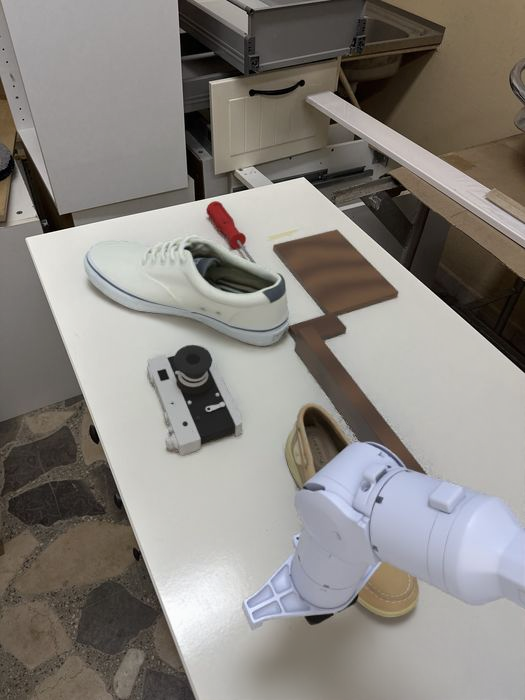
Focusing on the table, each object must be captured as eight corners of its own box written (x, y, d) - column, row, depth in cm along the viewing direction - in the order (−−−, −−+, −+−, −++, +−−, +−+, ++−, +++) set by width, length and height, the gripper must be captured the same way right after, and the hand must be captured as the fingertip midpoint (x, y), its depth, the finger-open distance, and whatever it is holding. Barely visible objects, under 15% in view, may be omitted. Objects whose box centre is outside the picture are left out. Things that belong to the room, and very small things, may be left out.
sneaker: (113, 251, 94) (102, 188, 85) (301, 306, 87) (311, 243, 78) (71, 294, 85) (54, 229, 76) (276, 358, 79) (284, 295, 70)
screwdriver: (259, 295, 89) (260, 278, 86) (205, 217, 103) (204, 201, 101) (277, 290, 90) (279, 274, 87) (221, 213, 105) (221, 198, 102)
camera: (246, 402, 64) (166, 427, 61) (243, 435, 69) (170, 459, 66) (204, 321, 73) (133, 338, 70) (205, 354, 78) (139, 372, 75)
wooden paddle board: (583, 488, 67) (602, 470, 64) (447, 564, 59) (461, 548, 56) (336, 234, 102) (339, 214, 99) (230, 260, 95) (230, 240, 91)
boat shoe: (364, 639, 53) (382, 614, 48) (261, 447, 68) (266, 410, 62) (432, 602, 56) (458, 574, 50) (320, 425, 71) (329, 388, 65)
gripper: (378, 477, 46) (349, 540, 56) (228, 545, 41) (225, 602, 51) (428, 548, 42) (387, 603, 52) (269, 634, 37) (257, 677, 47)
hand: (309, 607), depth 51 cm, fingers closed
